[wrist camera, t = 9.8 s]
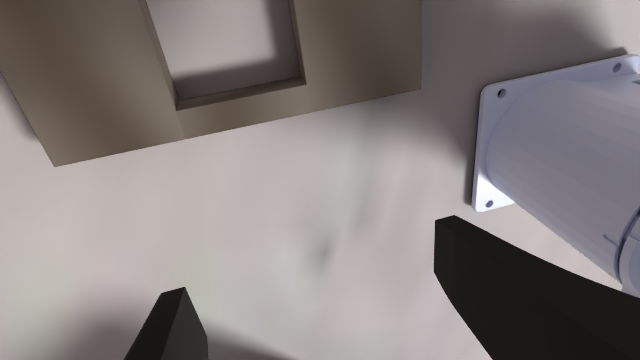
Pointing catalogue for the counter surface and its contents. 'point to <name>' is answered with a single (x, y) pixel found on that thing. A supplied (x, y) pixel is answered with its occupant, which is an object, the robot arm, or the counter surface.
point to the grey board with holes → (156, 83)
